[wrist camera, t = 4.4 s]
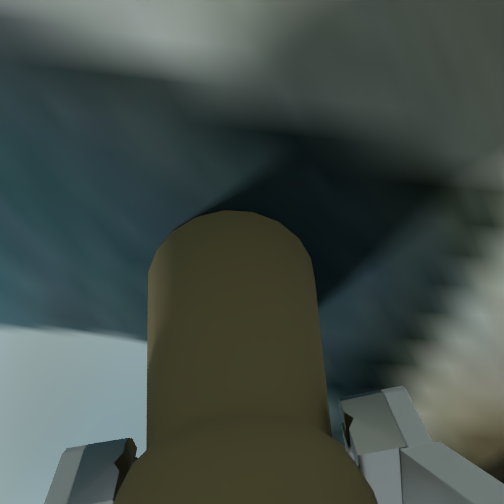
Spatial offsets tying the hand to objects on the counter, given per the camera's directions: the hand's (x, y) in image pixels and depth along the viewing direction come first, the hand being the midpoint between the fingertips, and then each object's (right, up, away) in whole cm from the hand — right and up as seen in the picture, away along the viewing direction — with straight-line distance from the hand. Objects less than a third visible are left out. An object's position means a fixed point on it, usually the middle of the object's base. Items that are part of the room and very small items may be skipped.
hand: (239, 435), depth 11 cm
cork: (0, +3, +6) cm, 7 cm away
